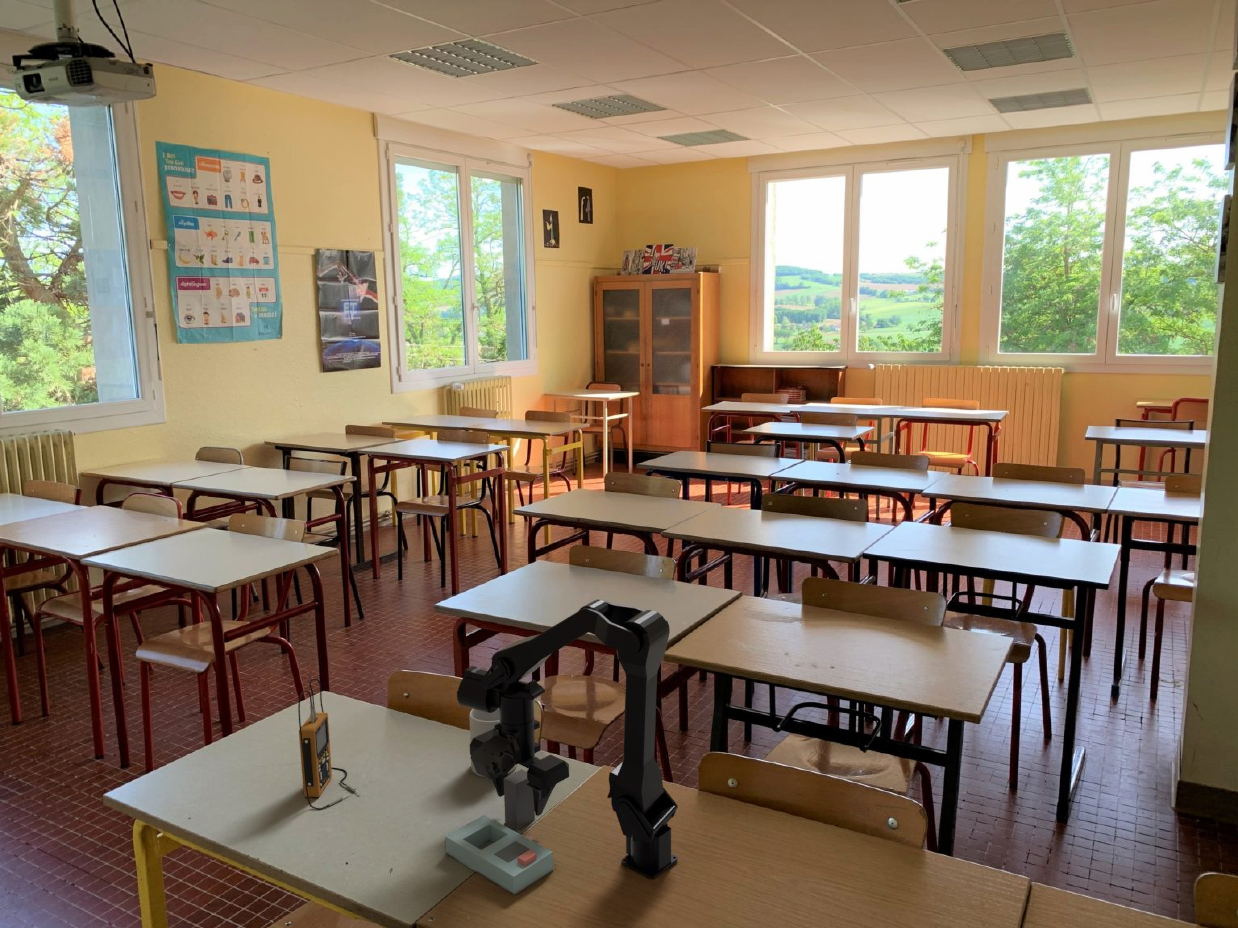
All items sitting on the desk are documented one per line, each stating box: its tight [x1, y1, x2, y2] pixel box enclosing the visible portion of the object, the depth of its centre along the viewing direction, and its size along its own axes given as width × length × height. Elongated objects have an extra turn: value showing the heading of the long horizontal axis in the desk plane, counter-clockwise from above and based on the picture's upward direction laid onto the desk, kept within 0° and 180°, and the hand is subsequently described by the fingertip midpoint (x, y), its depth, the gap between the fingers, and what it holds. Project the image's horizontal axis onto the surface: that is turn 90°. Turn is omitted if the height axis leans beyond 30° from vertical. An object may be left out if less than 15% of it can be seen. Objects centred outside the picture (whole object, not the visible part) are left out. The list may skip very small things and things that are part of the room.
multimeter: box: [297, 678, 361, 811], centre depth 162 cm, size 15×10×20 cm
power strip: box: [444, 814, 554, 896], centre depth 141 cm, size 16×8×4 cm, turn 49°
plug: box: [503, 769, 536, 830], centre depth 152 cm, size 4×3×8 cm
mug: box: [469, 708, 518, 778], centre depth 172 cm, size 12×8×11 cm
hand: (519, 805), depth 152 cm, fingers open, 9 cm apart
